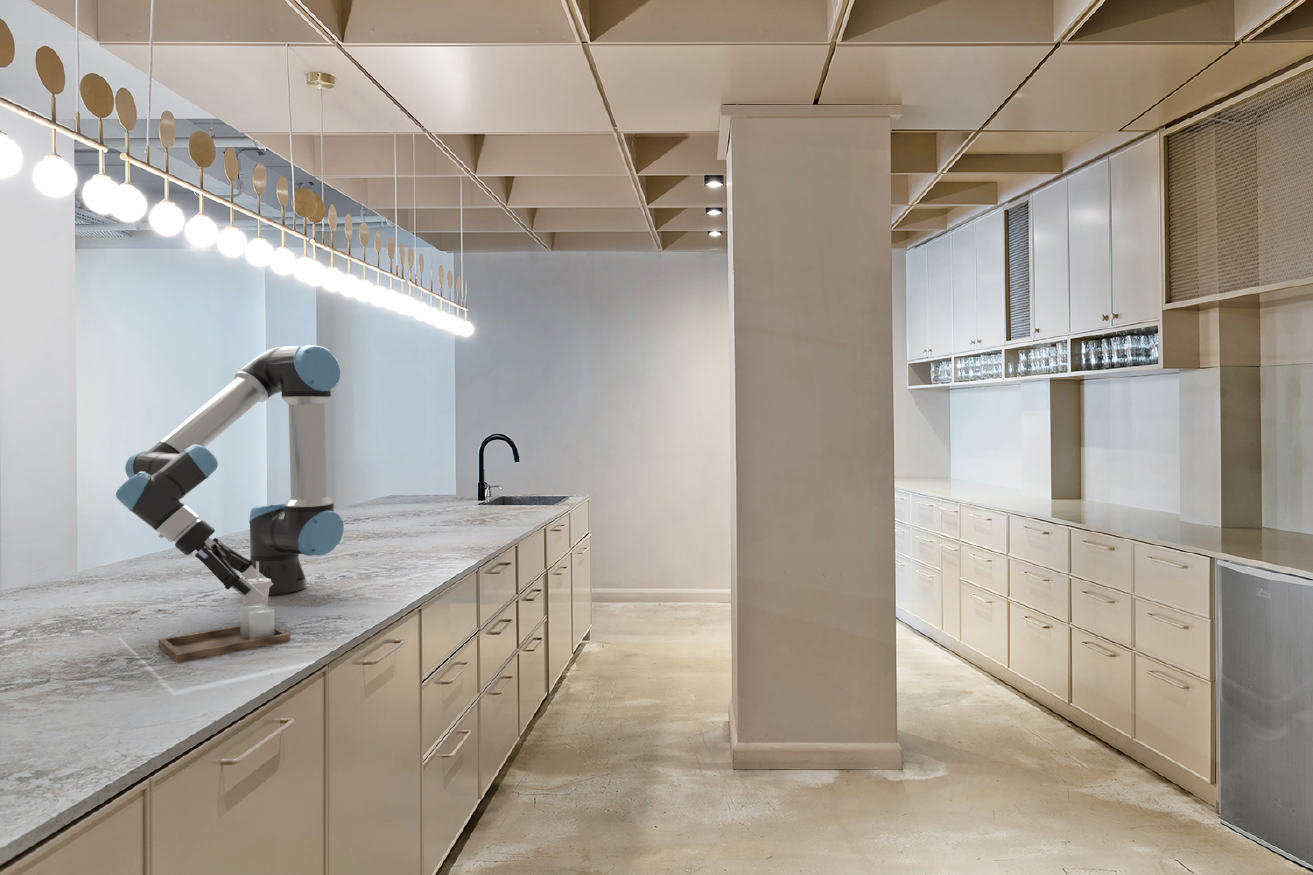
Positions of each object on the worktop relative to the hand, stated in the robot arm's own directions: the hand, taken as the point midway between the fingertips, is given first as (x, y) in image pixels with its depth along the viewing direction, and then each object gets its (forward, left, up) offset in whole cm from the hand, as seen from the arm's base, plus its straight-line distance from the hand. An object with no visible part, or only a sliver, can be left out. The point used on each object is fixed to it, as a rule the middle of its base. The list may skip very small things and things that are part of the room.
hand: (265, 594), depth 170 cm
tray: (+12, +13, -6) cm, 19 cm away
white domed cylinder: (+6, +16, -6) cm, 18 cm away
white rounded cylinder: (+6, +10, -6) cm, 13 cm away
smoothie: (+2, -1, -7) cm, 7 cm away
